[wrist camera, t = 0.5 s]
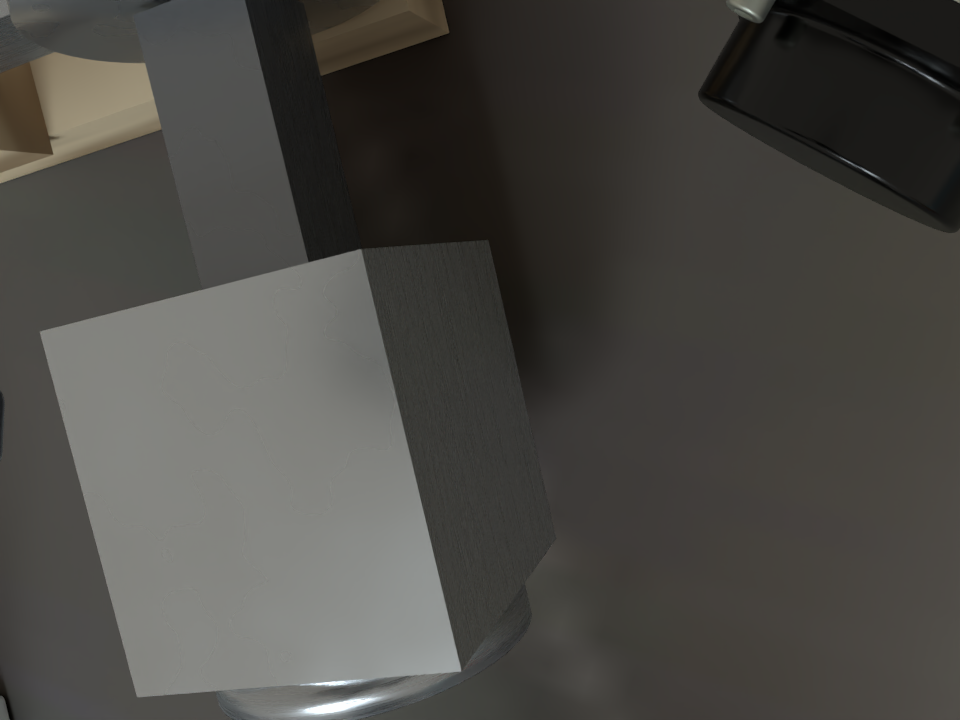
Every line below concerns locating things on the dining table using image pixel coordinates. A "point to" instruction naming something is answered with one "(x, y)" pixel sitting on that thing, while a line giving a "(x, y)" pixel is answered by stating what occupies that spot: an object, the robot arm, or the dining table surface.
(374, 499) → the cube on metal disc
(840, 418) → the dining table surface
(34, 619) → the dining table surface
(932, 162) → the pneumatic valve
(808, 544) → the dining table surface
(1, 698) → the skincare box
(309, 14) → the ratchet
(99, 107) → the oak cradle
